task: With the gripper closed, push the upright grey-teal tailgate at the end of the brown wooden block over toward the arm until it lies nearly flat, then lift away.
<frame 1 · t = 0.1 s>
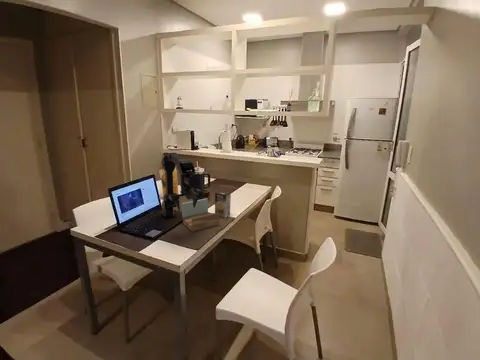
hand: (186, 209, 154), 15 cm above the table, tool pointing down, fingers open, 9 cm apart
coffee box: (222, 215, 184), on the table
pancake mix bag: (170, 197, 217), on the table
brown wooden block: (201, 224, 169), on the table
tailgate: (195, 208, 174), point 8 cm above the table, hinge at 0.0°
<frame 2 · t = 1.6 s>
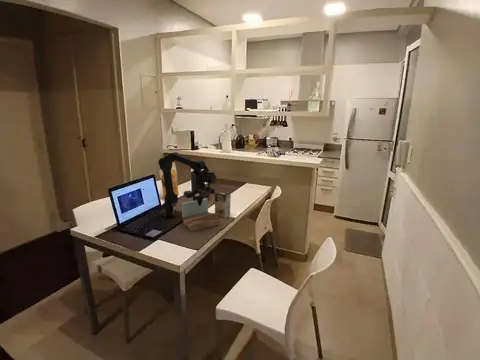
hand: (199, 205, 167), 12 cm above the table, tool pointing down, fingers closed
nothing on the table moved.
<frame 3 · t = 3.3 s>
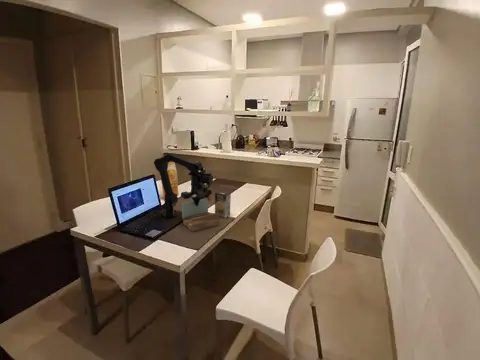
hand: (196, 206, 171), 10 cm above the table, tool pointing down, fingers closed, pressing on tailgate
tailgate: (195, 208, 174), point 8 cm above the table, hinge at 0.0°, touching gripper
everything else where it was.
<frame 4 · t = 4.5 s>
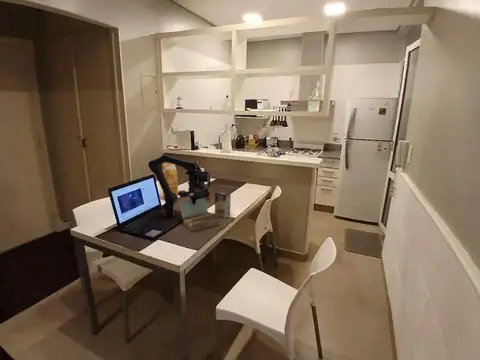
hand: (194, 204, 174), 10 cm above the table, tool pointing down, fingers closed, pressing on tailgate
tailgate: (193, 207, 175), point 7 cm above the table, hinge at 23.2°, touching gripper
everything else where it was.
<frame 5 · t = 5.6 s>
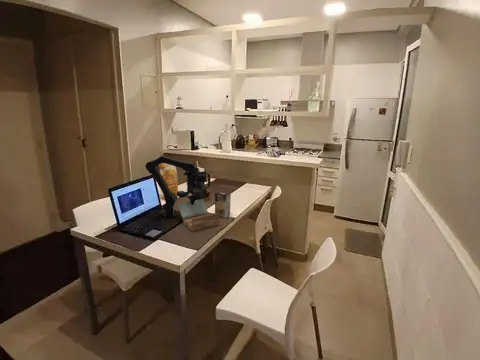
hand: (192, 204, 176), 9 cm above the table, tool pointing down, fingers closed, pressing on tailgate
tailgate: (193, 208, 177), point 7 cm above the table, hinge at 41.7°, touching gripper
everything else where it was.
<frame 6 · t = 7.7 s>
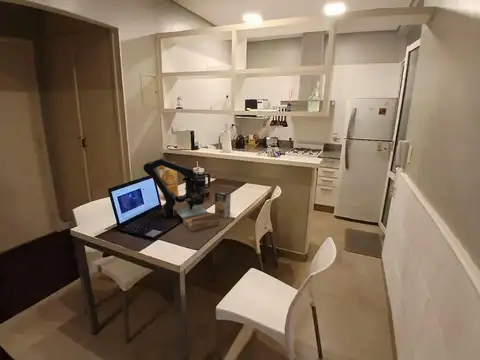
hand: (190, 209, 180), 5 cm above the table, tool pointing down, fingers closed, pressing on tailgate
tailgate: (192, 212, 178), point 4 cm above the table, hinge at 79.4°, touching gripper
everything else where it was.
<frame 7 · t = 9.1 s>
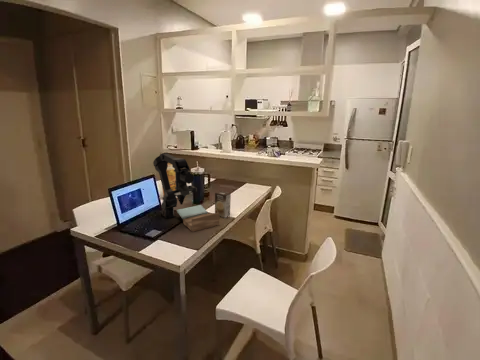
hand: (181, 204, 166), 13 cm above the table, tool pointing down, fingers closed
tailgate: (192, 212, 178), point 4 cm above the table, hinge at 79.4°
everything else where it was.
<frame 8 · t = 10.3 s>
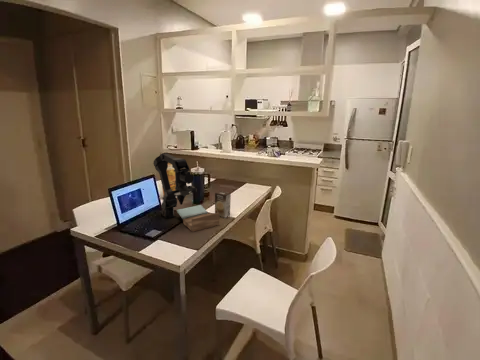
hand: (181, 204, 165), 13 cm above the table, tool pointing down, fingers closed
nothing on the table moved.
at the end: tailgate at +79° (first picture: +0°); the gripper is holding nothing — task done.
